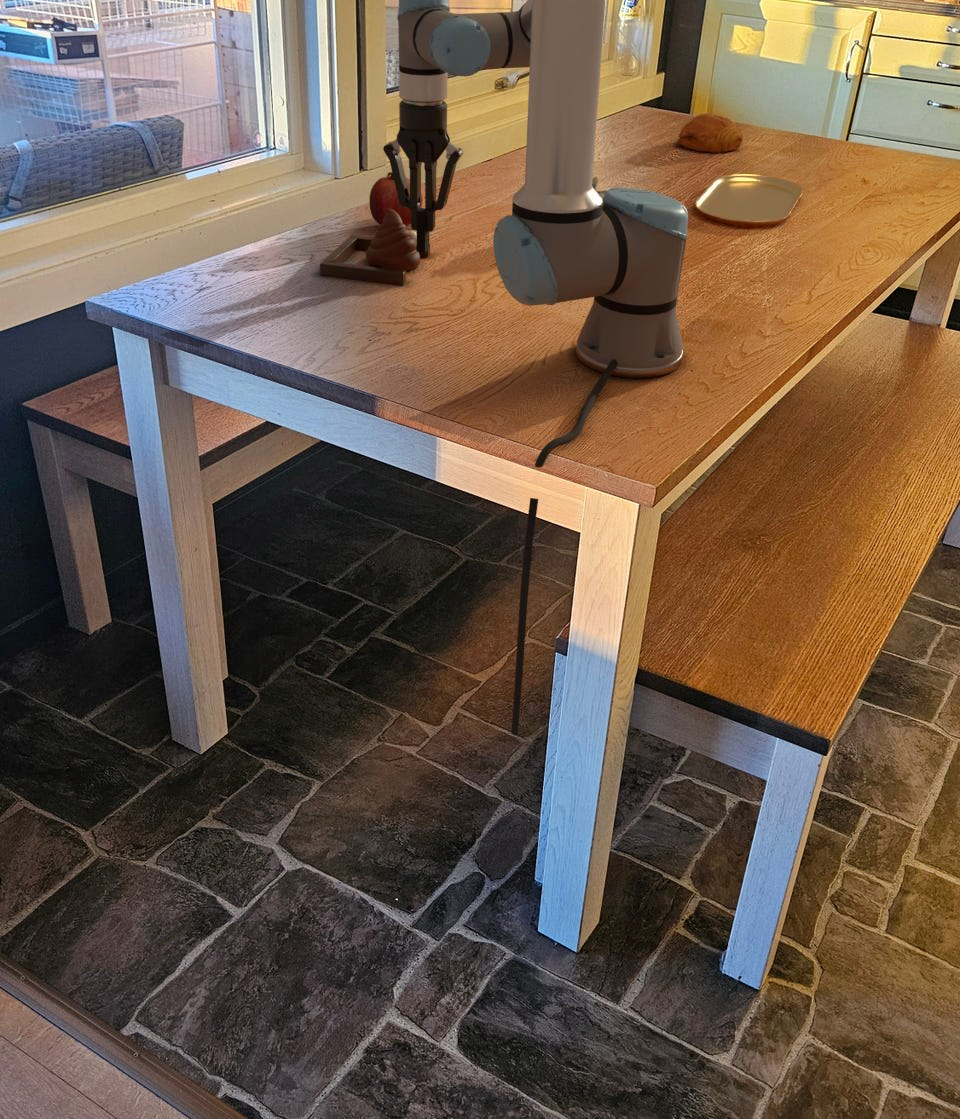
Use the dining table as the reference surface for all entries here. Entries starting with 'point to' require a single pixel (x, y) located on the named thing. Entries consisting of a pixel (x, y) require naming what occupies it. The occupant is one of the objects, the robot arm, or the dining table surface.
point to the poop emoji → (393, 245)
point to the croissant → (710, 134)
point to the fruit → (388, 200)
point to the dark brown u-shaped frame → (338, 269)
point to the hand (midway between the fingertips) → (423, 249)
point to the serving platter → (749, 200)
